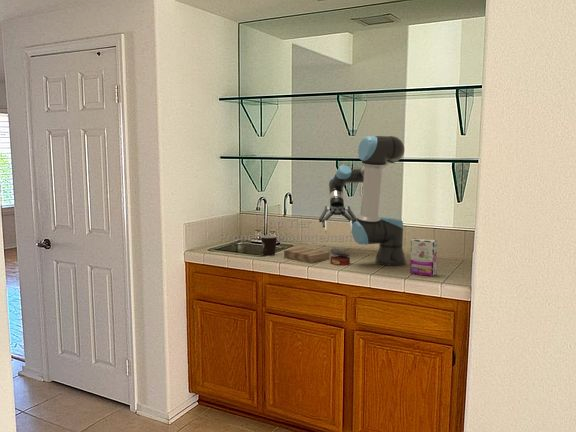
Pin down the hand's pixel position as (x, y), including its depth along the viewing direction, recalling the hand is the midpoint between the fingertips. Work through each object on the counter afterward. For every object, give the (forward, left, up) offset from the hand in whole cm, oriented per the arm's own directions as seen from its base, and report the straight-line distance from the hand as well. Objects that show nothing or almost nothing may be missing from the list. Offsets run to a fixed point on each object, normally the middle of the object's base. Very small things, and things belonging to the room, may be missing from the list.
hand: (338, 231), depth 275 cm
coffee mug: (+35, +18, -15) cm, 42 cm away
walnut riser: (+12, +12, -15) cm, 22 cm away
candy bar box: (-50, -2, -15) cm, 52 cm away
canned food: (-8, +8, -15) cm, 18 cm away
